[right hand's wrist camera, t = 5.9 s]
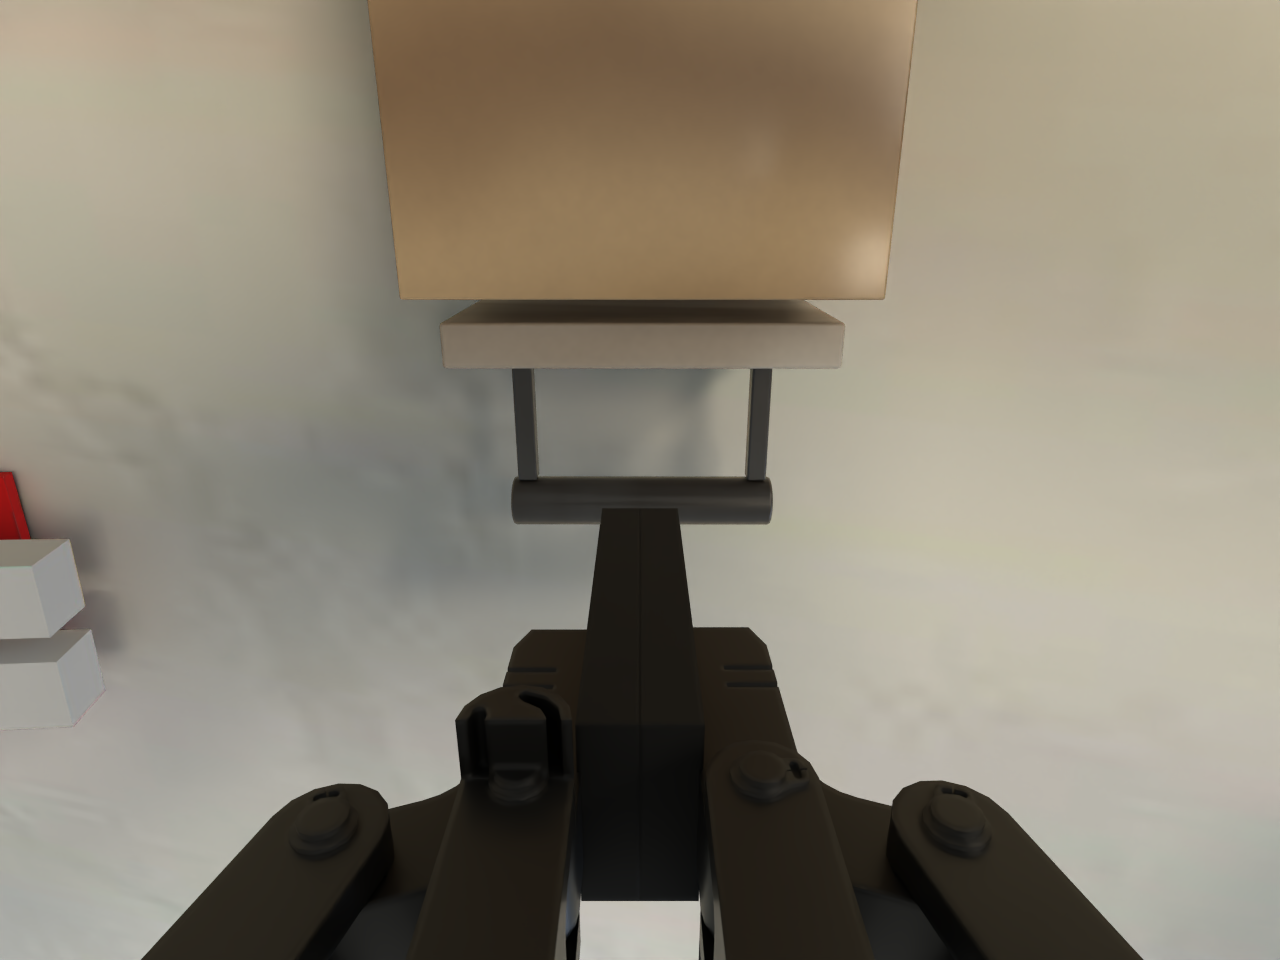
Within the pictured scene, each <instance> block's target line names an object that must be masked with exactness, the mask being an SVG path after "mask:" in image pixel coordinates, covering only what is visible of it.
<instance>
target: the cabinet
mask: <svg viewBox="0 0 1280 960" xmlns="http://www.w3.org/2000/svg"><path fill="white" fill-rule="evenodd" d="M367 1H368V10H369V19H370V28H371V37H372V46H373V55H374V65H375V74H376V83H377V92H378V101H379V110H380V120H381V129H382V138H383V147H384V156H385V165H386V175H387V184H388V193H389V202H390V211H391V220H392V230H393V239H394V248H395V257H396V266H397V275H398V284H399V294H400V299H402V300H883V299H884V298H885V292H886V283H887V274H888V265H889V256H890V247H891V238H892V229H893V220H894V211H895V202H896V193H897V184H898V175H899V166H900V157H901V148H902V139H903V130H904V121H905V112H906V103H907V94H908V85H909V76H910V67H911V58H912V49H913V40H914V31H915V22H916V13H917V4H918V0H367Z"/></svg>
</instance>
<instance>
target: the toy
mask: <svg viewBox="0 0 1280 960" xmlns="http://www.w3.org/2000/svg"><path fill="white" fill-rule="evenodd" d="M84 607H85V601H84V597H83V593H82V589H81V585H80V580H79V576H78V572H77V568H76V564H75V559H74V555H73V551H72V547H71V542H70V539H31V538H30V534H29V531H28V527H27V524H26V520H25V517H24V513H23V510H22V506H21V503H20V499H19V496H18V492H17V489H16V486H15V482H14V479H13V475H12V472H0V730H21V729H41V728H61V727H74V726H75V725H76V723H77V722H78V721H79V720H80V719H81V718H82V717H83V715H84V714H85V713H86V712H87V711H88V710H89V709H90V707H91V706H92V705H93V704H94V703H95V702H96V701H97V700H98V698H99V697H100V696H101V695H102V694H103V693H104V692H105V686H104V681H103V677H102V673H101V669H100V665H99V660H98V656H97V652H96V648H95V644H94V639H93V635H92V631H91V629H75V630H59V629H60V628H61V627H63V626H64V625H65V624H66V623H67V622H68V621H69V620H70V619H71V618H73V617H74V616H75V615H76V614H77V613H78V612H79V611H80V610H82V609H83V608H84Z"/></svg>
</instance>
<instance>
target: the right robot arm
mask: <svg viewBox="0 0 1280 960" xmlns="http://www.w3.org/2000/svg"><path fill="white" fill-rule="evenodd" d="M455 722H456V732H457V742H458V751H459V761H460V771H461V781H460V784H458V785H457V786H456V787H454V788H452V789H450V790H448V791H446V792H444V793H442V794H441V795H438V796H435V797H432V798H429V799H426V800H423V801H419V802H415V803H411V804H407V805H403V806H399V807H395V808H391V809H388V804H387V802H386V801H385V800H384V799H383V797H382V796H381V795H380V794H379V792H378V791H376V790H373V789H371V788H369V787H366V786H364V785H361V784H335V785H331V786H326V787H322V788H318V789H314V790H312V791H310V792H308V793H306V794H304V795H302V796H300V797H298V798H296V799H294V800H292V801H291V802H289V803H288V804H287V805H286V806H284V807H283V808H282V809H281V810H280V811H278V812H277V813H276V814H275V815H274V816H272V818H271V819H270V820H269V821H268V822H267V823H266V824H265V825H264V826H263V827H262V828H261V829H260V831H259V832H258V833H257V834H256V835H255V836H254V837H253V838H252V839H251V840H250V841H249V843H248V844H247V845H246V846H245V847H244V848H243V849H242V850H241V851H240V852H239V853H238V855H237V856H236V857H235V858H234V859H233V860H232V861H231V862H230V863H229V864H228V865H227V867H226V868H225V869H224V870H223V871H222V872H221V873H220V874H219V875H218V876H217V877H216V879H215V880H214V881H213V882H212V883H211V884H210V885H209V886H208V887H207V888H206V889H205V891H204V892H203V893H202V894H201V895H200V896H199V897H198V898H197V899H196V900H195V901H194V903H193V904H192V905H191V906H190V907H189V908H188V909H187V910H186V911H185V912H184V913H183V915H182V916H181V917H180V918H179V919H178V920H177V921H176V922H175V923H174V924H173V925H172V927H171V928H170V929H169V930H168V931H167V932H166V933H165V934H164V935H163V936H162V937H161V938H160V940H159V941H158V942H157V943H156V944H155V945H154V946H153V947H152V948H151V949H150V950H149V952H148V953H147V954H146V955H145V956H144V957H143V958H142V959H141V960H579V955H580V942H581V941H580V915H579V910H580V898H581V901H699V895H700V906H701V915H700V941H699V960H1143V959H1142V958H1141V957H1140V956H1139V954H1138V953H1137V952H1136V951H1135V950H1134V949H1133V948H1132V947H1131V946H1130V945H1129V944H1128V943H1127V941H1126V940H1125V939H1124V938H1123V937H1122V936H1121V935H1120V934H1119V933H1118V932H1117V931H1116V930H1115V928H1114V927H1113V926H1112V925H1111V924H1110V923H1109V922H1108V921H1107V920H1106V919H1105V918H1104V917H1103V915H1102V914H1101V913H1100V912H1099V911H1098V910H1097V909H1096V908H1095V907H1094V906H1093V905H1092V904H1091V902H1090V901H1089V900H1088V899H1087V898H1086V897H1085V896H1084V895H1083V894H1082V893H1081V892H1080V891H1079V889H1078V888H1077V887H1076V886H1075V885H1074V884H1073V883H1072V882H1071V881H1070V880H1069V879H1068V878H1067V876H1066V875H1065V874H1064V873H1063V872H1062V871H1061V870H1060V869H1059V868H1058V867H1057V866H1056V865H1055V863H1054V862H1053V861H1052V860H1051V859H1050V858H1049V857H1048V856H1047V855H1046V854H1045V853H1044V852H1043V850H1042V849H1041V848H1040V847H1039V846H1038V845H1037V844H1036V843H1035V842H1034V841H1033V840H1032V839H1031V837H1030V836H1029V835H1028V834H1027V833H1026V832H1025V831H1024V830H1023V829H1022V828H1021V827H1020V826H1019V824H1018V823H1017V822H1016V821H1015V820H1014V819H1013V818H1012V817H1011V816H1010V815H1009V814H1008V813H1007V812H1006V811H1005V810H1004V809H1002V808H1001V807H1000V806H999V805H998V804H996V803H995V802H994V801H993V800H991V799H990V798H989V797H987V796H985V795H983V794H981V793H979V792H977V791H975V790H973V789H971V788H969V787H966V786H963V785H959V784H954V783H950V782H946V781H919V782H917V783H914V784H912V785H909V786H907V787H904V788H903V789H902V790H901V791H900V792H899V794H898V795H897V796H896V797H895V799H894V800H893V803H892V806H889V805H885V804H881V803H877V802H873V801H869V800H865V799H861V798H857V797H854V796H851V795H848V794H845V793H842V792H839V791H837V790H836V789H834V788H832V787H830V786H828V785H826V784H824V783H823V782H822V781H820V780H819V777H818V776H817V774H816V772H815V771H814V769H813V767H812V765H811V764H810V762H808V761H807V760H806V759H805V758H803V757H802V756H801V755H800V754H798V752H797V749H796V746H795V742H794V739H793V736H792V732H791V729H790V725H789V722H788V718H787V715H786V711H785V708H784V704H783V701H782V697H781V694H780V691H779V687H777V680H776V677H775V673H774V670H772V663H771V659H770V656H769V652H768V649H767V646H766V644H765V643H764V642H763V641H762V640H761V639H760V638H759V637H758V636H757V635H756V634H755V633H754V632H753V631H752V630H751V629H750V628H749V627H693V625H692V618H691V610H690V602H689V594H688V586H687V578H686V570H685V562H684V554H683V546H682V538H681V530H680V522H679V514H678V508H602V514H601V522H600V530H599V538H598V546H597V554H596V562H595V570H594V578H593V586H592V594H591V602H590V610H589V618H588V625H587V630H531V631H530V632H529V633H528V634H527V635H526V636H525V637H524V638H523V639H522V640H521V641H520V642H519V643H518V644H517V645H516V646H515V647H514V648H513V652H512V655H511V659H510V662H509V666H508V672H507V673H506V676H505V680H504V683H503V687H500V688H498V689H495V690H492V691H489V692H487V693H484V694H481V695H479V696H478V697H477V698H475V699H474V700H472V701H471V702H470V703H468V704H467V705H465V706H464V708H463V709H462V711H461V712H460V714H459V715H458V717H457V718H456V720H455Z"/></svg>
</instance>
